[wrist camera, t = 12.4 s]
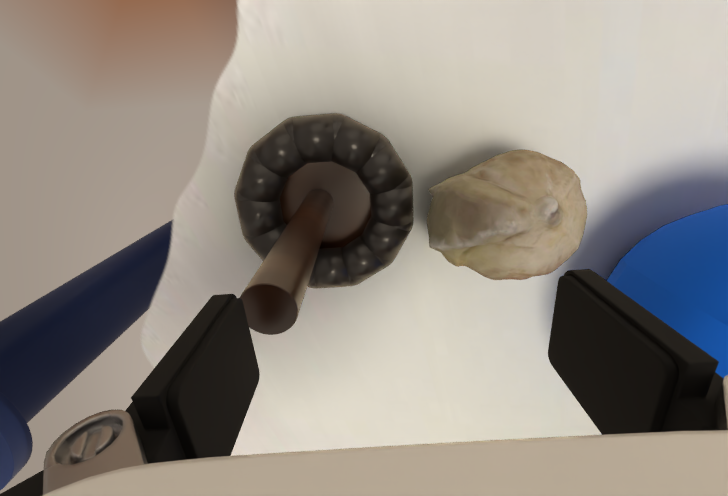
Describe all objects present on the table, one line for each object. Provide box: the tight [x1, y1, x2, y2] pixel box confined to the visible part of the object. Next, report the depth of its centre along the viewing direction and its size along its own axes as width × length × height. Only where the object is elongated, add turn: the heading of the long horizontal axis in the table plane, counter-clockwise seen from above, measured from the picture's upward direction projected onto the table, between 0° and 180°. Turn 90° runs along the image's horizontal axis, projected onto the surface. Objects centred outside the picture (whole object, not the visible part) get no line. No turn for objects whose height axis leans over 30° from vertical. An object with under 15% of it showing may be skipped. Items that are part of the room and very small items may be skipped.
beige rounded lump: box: [427, 150, 587, 280], centre depth 21 cm, size 9×8×10 cm
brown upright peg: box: [240, 161, 371, 335], centre depth 19 cm, size 8×8×15 cm
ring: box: [234, 113, 413, 288], centre depth 23 cm, size 12×12×3 cm
